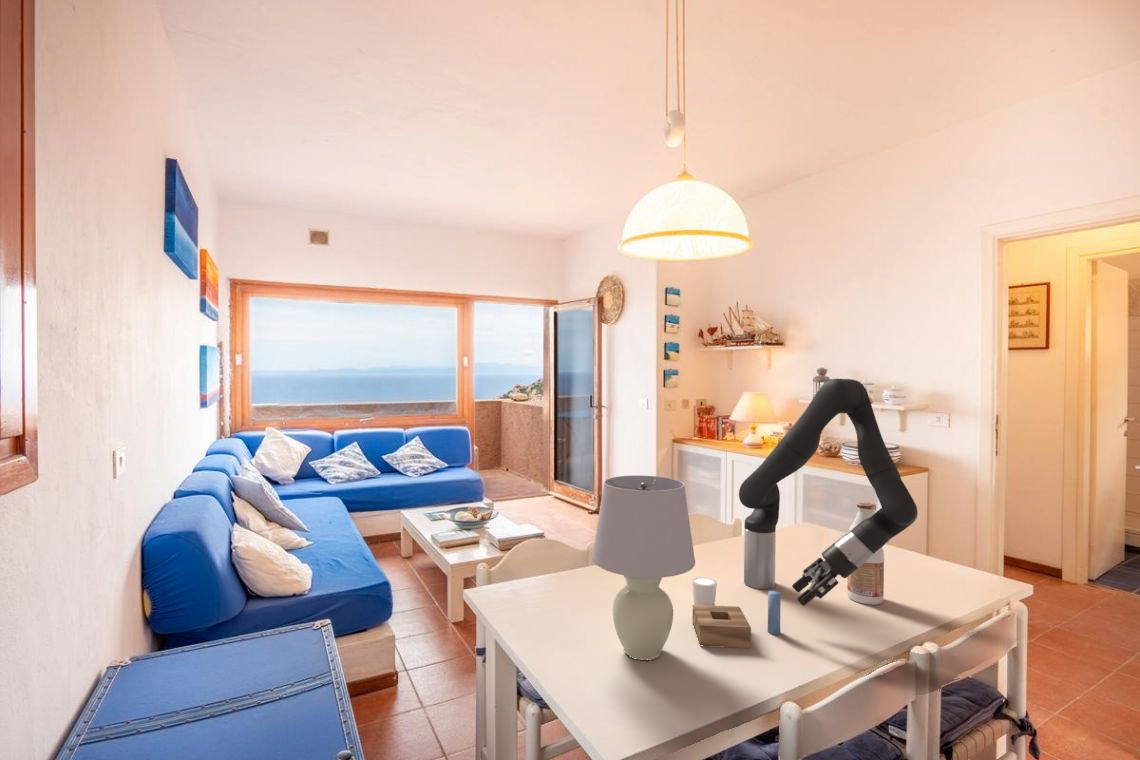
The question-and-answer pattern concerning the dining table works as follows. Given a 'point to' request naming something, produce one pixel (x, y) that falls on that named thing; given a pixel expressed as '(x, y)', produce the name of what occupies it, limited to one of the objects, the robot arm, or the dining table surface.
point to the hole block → (721, 626)
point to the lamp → (643, 555)
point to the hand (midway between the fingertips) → (797, 595)
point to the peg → (774, 612)
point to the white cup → (704, 591)
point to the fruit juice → (867, 568)
